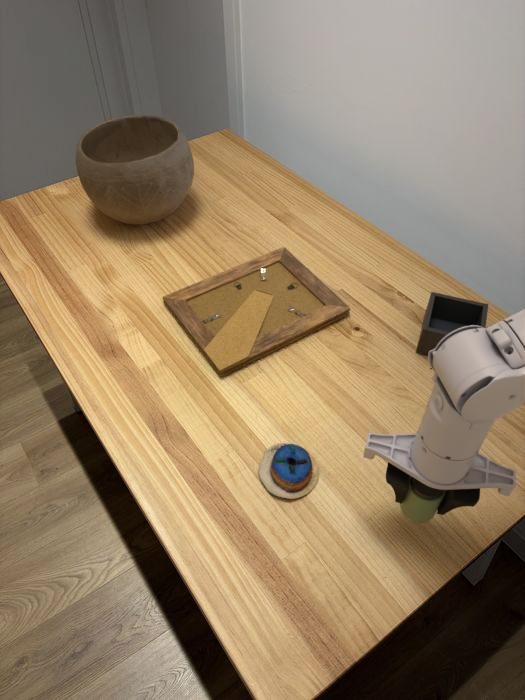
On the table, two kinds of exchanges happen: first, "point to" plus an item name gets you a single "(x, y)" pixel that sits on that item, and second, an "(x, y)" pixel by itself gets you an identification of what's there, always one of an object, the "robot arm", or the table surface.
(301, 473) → the dessert
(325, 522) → the table surface
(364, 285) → the table surface
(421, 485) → the green lidded canister
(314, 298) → the picture frame
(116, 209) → the bowl
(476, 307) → the bin
